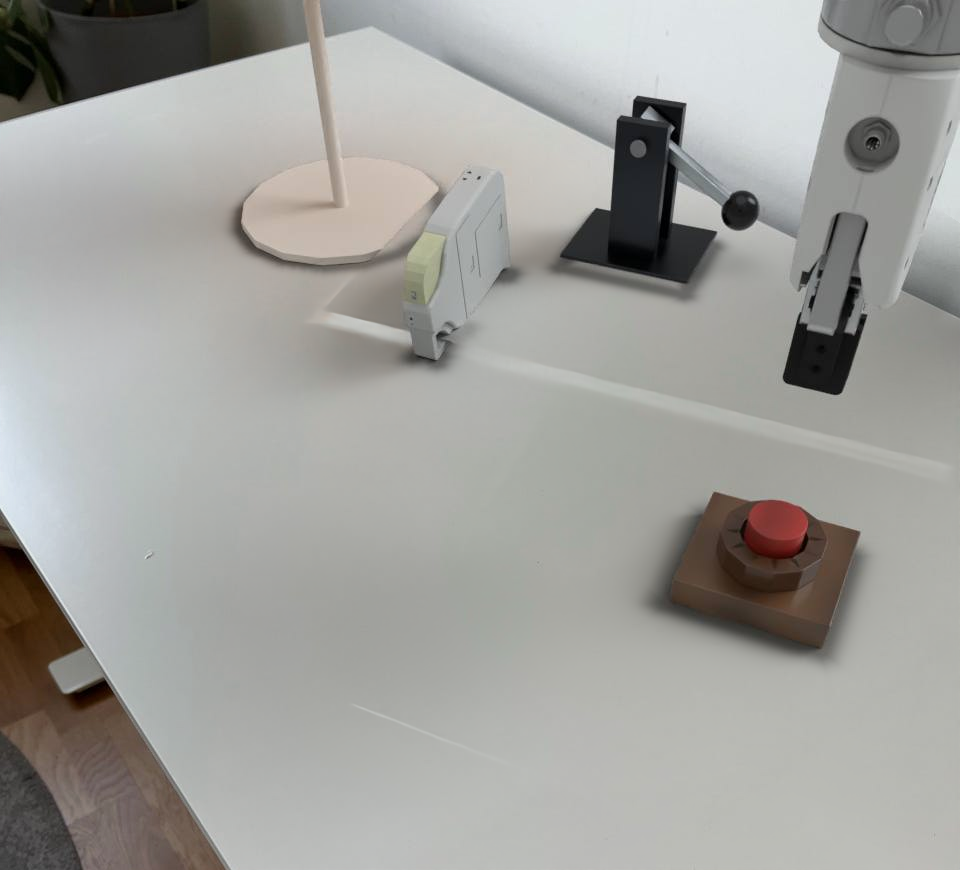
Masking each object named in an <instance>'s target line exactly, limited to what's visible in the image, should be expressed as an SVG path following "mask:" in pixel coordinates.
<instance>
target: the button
mask: <svg viewBox="0 0 960 870" xmlns="http://www.w3.org/2000/svg"><path fill="white" fill-rule="evenodd" d="M767 500H768V501H763V502H761V503H759V504H757V505H755V506H754V507H753V508H752V509H751V511H750V513H749V517H748V521H747V525H746V529H745V534H744V539H745V542H746V544H747V546H748V547H749V548H750V549H751V550H752V551H753V552H754V553H756V554H758V555H760V556H764V557H767V558H771V559H786V558H789V557H791V556H793V555H795V554H796V553H797V552H798V551H799V550H800V548H801V546H802V543H803V540H804V536H805V533H806V530H807V526H808V520H807V517H806V515H805V514H804V512H803V511H802V510H801V509H800V508H798V507H797V506H798V505H796V504H793V503H791V502H789V501H785V500H780V499H767ZM795 505H796V506H795Z"/></svg>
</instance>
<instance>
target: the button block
mask: <svg viewBox="0 0 960 870" xmlns="http://www.w3.org/2000/svg"><path fill="white" fill-rule="evenodd" d="M768 500H769V499H762V500H752V501H750V500H748V499H743V498H739V497H737V496H734V495H733V496H732V495H729V494H725V493H721V492H719V491H718V492H717V491H713V492H712V494H711V497H710V498H709V501H708V503H707V505H706V507H705V509H704V511H703V514H702V515H701V518H700V520H699V522H698V524H697V526H696V529H695V531H694V533H693V536H692V538H691V539H690V542H689V544H688V546H687V548H686V550H685V553H684V554H683V557H682V559H681V560H680V561H681V562H679V566H678V567H677V570H676V571H675V574H674V576H673V579H672V582H671V587H670V588H671V589H670V595H669V600H668V601H669V602H670V603H674V604H677V605H680V606H683V607H686V608H689V609H693V610H696V611H699V612H702V613H706V614H708V615H712V616H715V617H718V618H721V619H725V620H728V621H730V622H731V621H732V622H734V623H738V624H741V625H745V626H748V627H751V628H754V629H756V630H760V631H764V632H767V633H770V634H773V635H777V636H780V637H783V638H785V639H789V640H792V641H795V642H798V643H802V644H805V645H807V646H808V645H809V646H812V647H815V648H818V649H823V648H824V646H825V643H826V641H827V638H828V635H829V632H830V630H831V628H832V624H833V622H834V621H833V620H834V618H835V615H836V611H837V608H838V605H839V603H840V599H841V596H842V593H843V591H844V590H843V589H844V587H845V583H846V580H847V577H848V574H849V571H850V568H851V565H852V561H853V558H854V555H855V552H856V549H857V546H858V542H859V540H860V536H861V534H862V533H861V531H860V530H857V529H853V528H850V527H846V526H843V525H838V524H835V523H831V522H828V521H824V520H820V519H817V518H816V517H815V516H814V515H812V514H811V513H810V512H808V511H807V510H806V509H804V508H803V507H802V506H799V505H797V504H794V505H795V506H797V507H798V508H800V509H801V510H802V511H803V512H804V514H805V515H806V517H807V520H808V526H807V530H806V533H805V536H804V540H803V543H802V546H801V548H800V550H799V551H798V552H797V553H796V554H795V555H793V556H791V557H789V558H786V559H771V558H767V557H764V556H760V555H758V554H756V553H754V552H753V551H752V550H751V549H750V548H749V547H748V546H747V544H746V542H745V539H744V534H745V529H746V525H747V521H748V517H749V513H750V511H751V509H752V508H753V507H754V506H755V505H757V504H759V503H761V502H763V501H768Z"/></svg>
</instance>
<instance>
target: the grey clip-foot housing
mask: <svg viewBox="0 0 960 870" xmlns="http://www.w3.org/2000/svg"><path fill="white" fill-rule="evenodd" d="M505 187H506V186H505V179H504V175H503V173H502V172H501V170H500V169H499V168H495V167H489V166H484V165H478V164H472V163H471V164H469V165H468V166H467V167H465V168H464V169H463V171H462V172H461V174H460V176H458V178H457V179H456V181H455V182H454V183H453V185H452V186H451V188H450V189H449V191H448V192H447V194H446V195H445V196H444V198H443V199H442V200H441V202H440V203H439V205H438V206H437V207H436V209H435V210H434V211H433V212H432V214H431V215H430V217H429V218H428V220H427V221H426V223H425V226H424V228H423V231H422V233H421V235H420V236H419V238H418V239H417V240H416V242H415V244H414V245H413V246H412V248H411V249H410V250H409V251H408V253H407V257H406V261H405V268H404V277H403V278H404V279H403V282H404V284H403V287H404V288H403V292H404V293H403V300H402V313H403V318H404V323H405V326H406V327H407V328H408V329H409V333H410V336H411V342H412V347H413V352H414V354H415V356H418V357H423V358H426V359H431V360H433V361H438V360H439V359H440V357H441V356H442V354H443V353H444V351H445V350H446V349H447V347H448V345H449V344H450V342H451V340H448V339H444V338H440V337H437V335H438V334H439V333H441V334H445V335H448V336H449V335H451V333H452V332H453V331H454V330H455V329H459V328H461V327H462V326H463V325H464V324H465V322H466V321H468V320H469V319H470V317H471V315H472V314H473V313H474V312H475V310H476V309H477V308H478V307H479V305H480V304H481V303H482V301H483V300H484V299H485V297H486V295H487V294H488V292H489V291H490V290H491V288H492V286H493V285H494V283H495V281H496V280H497V278H498V277H499V276H500V274H501V272H502V271H503V270H507V269H509V268H510V267H511V265H512V263H511V252H510V250H511V249H510V240H509V226H508V215H507V214H508V213H507V201H506V189H505Z"/></svg>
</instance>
